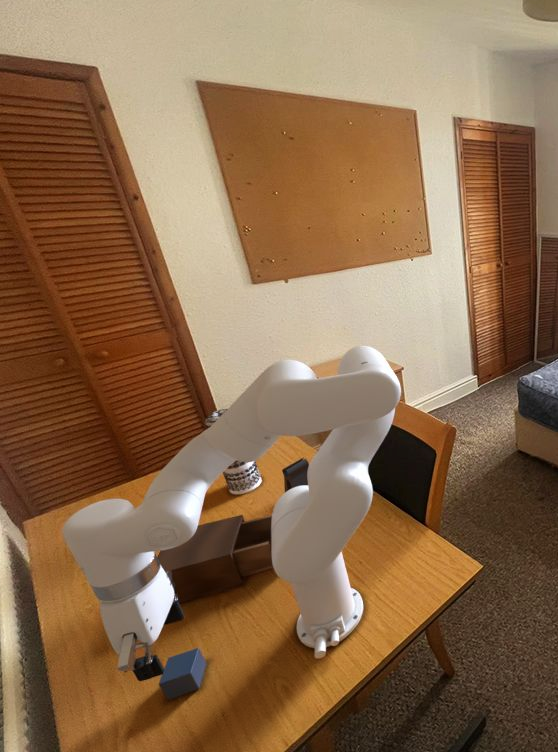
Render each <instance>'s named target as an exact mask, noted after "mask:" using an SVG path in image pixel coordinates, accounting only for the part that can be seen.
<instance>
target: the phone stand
mask: <svg viewBox="0 0 558 752" xmlns="http://www.w3.org/2000/svg"><path fill="white" fill-rule="evenodd" d="M309 464H310V462H309V461H308V459H306V458H304V457H302V458H299V459H298V460H296V461H294V462H293V463H291V464H289V465H288V466H285V467H284V468H282V469H281V471H282V475H283V482H284V483H283V484H284V493H285V492H287V491H288V490H290V489H292V488H294V487H297V486H303V485H308V479H307V472H308V467H309Z"/></svg>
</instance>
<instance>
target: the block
mask: <svg viewBox="0 0 558 752" xmlns="http://www.w3.org/2000/svg"><path fill="white" fill-rule="evenodd" d="M206 667H207V662H206V659H205V658H204V655H203V654H202V652H201V650H200V647H197V648H194V649H191V650H188V651H187V650H186V651H183V652H181V653H178V654H176V655H172V656H169V657H168V658H167V661H166V663H165V666H164V667H163V668H164V672H163V674H162V675H160V679H159V682H158V687H160V689H161V691H162V692H163V694H164V696H165V697H166V699H167V701H169V700H172V699H174V698H178V697H180V696H183V695H186V694H189V693H192V692H194V691H197V690H199V689H200V688H201V684H202V681H203V677H204V674H205V669H206Z"/></svg>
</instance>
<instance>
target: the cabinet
mask: <svg viewBox="0 0 558 752" xmlns="http://www.w3.org/2000/svg"><path fill="white" fill-rule="evenodd" d="M244 521H246V520H245V518H244V515H243V514H239V515H235V516H231V517H228V518H224V519H219V520H215V521H211V522H207V523H203V524H198V527H197V530H196V532H195V534H194V535H193V536H192V537H191V539H189V540H188V541H187V542H186V543H184V544H182V545H180V546H178V547H175V548H171V549H167V550H162V551H158V554H157V555H156V556H157V558H158V560H159V563H160V565H161V567H162V568H163V569H164V571H165V572H167V571H171V572H172V582H174V585H175V587H174V594H177V595H178V600H177V601H176V602H179V604H180V605H181V604H184V603H187V602H190V601H195V600H198V599H201V598H204V597H207V596H212V595H214V594H218V593H222V592H225V591H228V590H231V589H235V588H238V587H242V586H244V583H245V578H246V576H244V577H241V575H240V572H239V570H238V567H237V565H236V562H235V560H234V557H233V555H232V553H233V550H234V547H235V543H236V540H237V537H238V533H239V530H240V527H241V523H242V522H244Z"/></svg>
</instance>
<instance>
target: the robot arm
mask: <svg viewBox="0 0 558 752" xmlns="http://www.w3.org/2000/svg"><path fill="white" fill-rule="evenodd" d="M401 396H402V387H401V383H400V380H399V378H398V377H397V374H396V373H395V371H394V370H393V369H392V368H391V365H390V364H389V362H388V361H387V360H386V358H385V356H384V355H383V354H382V353H381V352H380V351H378V350H377V349H375V348H374V347H371V346H368V345H357V346H354V347H352V348H350V349H348V350H347V351H346V352H345V353H344V354H343V355H342V357H341V359H340V360H339V362H338V366H337V374H336V375H331V376H325V377H317V375H316V373H315V372H314V371H313V370H312V368H310V366H308V365H307V364H305V363H304V362H301V361H299V360H296V359H283V360H282V359H281V360H279V361H276V362H274V363H272V364H271V365H270V366H268V367H267V368H266V369H264V370H263V371H262V372H261V373H260V374H259V375H258V376H257V378H255V380H254V381H253V382H251V384H250V385H249V386H248V387H247V388H246V389H245V390H244V391H243V393H241V394H240V395H239V396H238V398H236V399H235V401H234V402H233V403H232V404H231V405H230V406H229V407H228V408H226V409H227V410H226V411H225V412H224V413H223V414H222V416H221V417H220V418H219V419H218V420H217V421H216V422H215V423H214V424H213V425H212V426H211V427H210V428H208V427H207V428H206V429H204V430H203V431H202V432H201V433H200V434H198V435H196V436H195V437H193V438H192V439H191V440H190V441H189V442H187V443H186V444H185V445H184V446H183V447H182V448H181V449H180V450H179V451H178V452H177V453H176V454H175V455H174V457H173V458H171V460H170V461H169V462H168V463H167V464H166V465H164V466H163V468H162V470H160V472H159V473H158V474H157V475H156V476H155V478H154V479H153V480H152V482H151V483H150V485H149V487H148V489H147V491H146V493H145V495H144V498H143V500H142V503H141V504H139V505H138V506H137V507H135V506H134V504H133V503H131V501H129V500H126V499H124V498H109V499H108V498H107V499H103V500H100V501H97V502H94V503H91V504H89V505H87V506H84V507H82V508H81V509H79V510H77V511H76V512H75V513H73V514H72V515H70V516H69V518H68V519H66V521H65V522H64V524H63V526H62V529H61V535H62V538H63V540H64V542H65V543H66V546H67V547H68V549H69V551H70V552H71V554H72V556H73V558H74V560H75V562H76V563H77V565H78V567H79V568H80V570H81V572H82V574H83V575H84V577H85V579H86V581H87V583H88V584H89V586H90V588H91V590H92V592H93V594H94V595H95V598H96V599H97V600H98V602H99V603H100V604H99V613H100V618H101V622H102V625H103V628H104V630H105V633H106V635H107V638H108V641H109V643H110V644H111V645H110V646H111V647H112V648H113V650H114V652H115V653H116V655H118V656H119V657H118V662H117V665H116V666H117V667H116V669H117V671H119V672H123V673H128V672H133V674H134V676H135V677H136V679H137V681H138V682H144V681H148V680H151V679H153V678H156V677H159V676H162V674H163V672H164V668H165V667H164V665H163V664H162V662H161V660H160V658H159V657H158V654H154V644H155V642H156V641H157V639H159V636H160V634H161V631H162V629H163V627H164V626H167V625H170V624H174V623H177V622H180V621H183V620H184V618H185V613H184V611H183V609H182V606H181V604H179V602H176V601H177V600H178V595H177V594H174V587H175V585H174V582H172V572H171V571H167V572H165V571H164V569H163V568H162V567H161V565H160V563H159V560H158V558H157V556H158V555H157V554H156V552H160V551H162V550H167V549H171V548H175V547H178V546H180V545H182V544H184V543H186V542H187V541H188V540H189V539H191V537H192V536H193V535H194V534H195V532H196V530H197V527H198V525H199V523H200V519H201V515H202V509H203V506H204V500H205V497H206V493H207V491H208V490H209V488H210V487H211V486H212V485H213V484H214V483H215V481H216V480H217V479H218V478H219V477H220V476H221V475H223V472H224V471H225V470H226V469H227V468H228V467H229V466H230V465H231V464H232V463H234V462H235V461H241V462H253V461H256V462H257V461H258V460H260V459H261V458H262V457H263V456H264V455H265V454H267V452H268V451H269V450H270V449H271V448H272V447H273V446H274V445H275V443H276V442H277V441H278V440H279V439H280V438H281V437H298V436H306V435H313V434H317V433H322V432H323V433H324V432H327V431H330V433H329V434H328V436H327V437H326V439H325V440H324V441H323V443H322V444H321V446H320V447H319V449H318V450H317V452H316V453H314V456H313V457H312V458H311V460H310V462H309V467H308V472H307V479H308V485H303V486H297V487H294V488H292V489H290V490H288V491H287V492H285V491H284V493H283V494H282V495H280V497H279V498H278V499H277V501H276V502H275V505H274V507H273V509H272V513H271V515H272V520H271V538H272V564H273V568H272V569H273V570H274V572H275V574H276V575H277V576H278V578H280V579H281V580H282V581H284V582H286V583H289V584H290V585H291V589H292V592H293V594H294V595H293V596H294V598H295V600H296V603H297V607H298V611H299V612H300V614H299V615H298V618H297V621H296V634H297V637H298V639H299V640H300V642H301V643H302V644H303V645H304V646H306V647H308V648H311V649H314V655H313V656H314V658H315V659H322V658H324V657H325V656H326V654H327V648H328V647H331V646H332V647H335V646H338V645H339V643H340V642H342V641H343V640H344V639H346V638H347V637H348V636H349V635H350V634H351V633H352V632H354V630H355V629H356V627H357V626H358V625H359V623H360V621H361V618H362V616H363V613H364V602H363V598H362V596H361V594H360V593H359V591H358V590H356V589H354V588H352V587H351V583H350V580H349V579H350V578H349V575H348V572H347V568H346V564H345V559H344V556H343V549H345V547H346V546H347V544H348V543H349V541H350V540H351V539H352V537H353V536H354V534H355V533H356V531H357V529H358V528H359V527H360V525H362V522H363V521H364V520H365V518H366V516H367V514H368V513H369V510H370V509H371V505H372V501H373V496H374V489H373V484H372V480H371V478H370V475H369V465H370V464H371V461H372V460H373V458H374V456H375V454H376V453H377V451H378V450H379V448H380V446H381V445H382V443H383V442H384V440H385V438H386V437H387V435H388V433H389V432H390V429H391V427H392V424H393V421H394V418H395V414H396V413H395V412H396V407H397V406H398V404H399V402H400V400H401ZM137 640H138V641H139V643H137ZM142 648H145V649H144V656H141V657H140V656H139V657H137V656H136V655H137V650H139V649H142Z"/></svg>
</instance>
